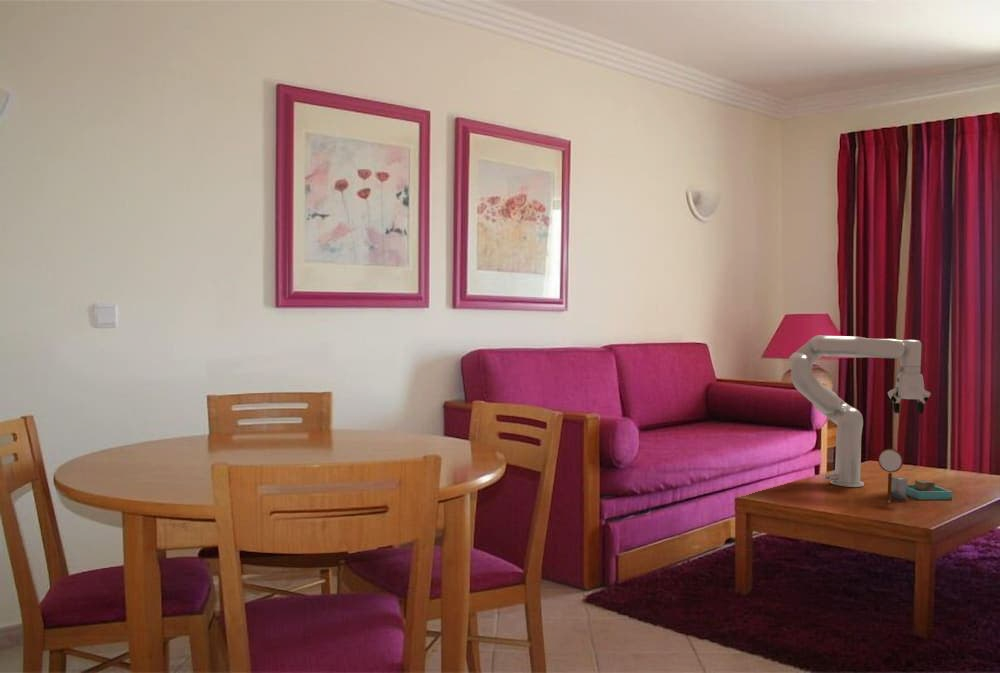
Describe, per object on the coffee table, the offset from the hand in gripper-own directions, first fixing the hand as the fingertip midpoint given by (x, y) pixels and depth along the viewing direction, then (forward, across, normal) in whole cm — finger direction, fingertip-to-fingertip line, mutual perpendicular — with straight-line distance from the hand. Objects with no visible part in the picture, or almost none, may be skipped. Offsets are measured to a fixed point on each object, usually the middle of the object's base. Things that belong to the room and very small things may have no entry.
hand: (908, 413), depth 358 cm
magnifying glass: (+30, -22, -29) cm, 47 cm away
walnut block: (+29, -1, -16) cm, 34 cm away
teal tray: (+30, -1, -16) cm, 34 cm away
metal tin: (+30, -15, -23) cm, 41 cm away
